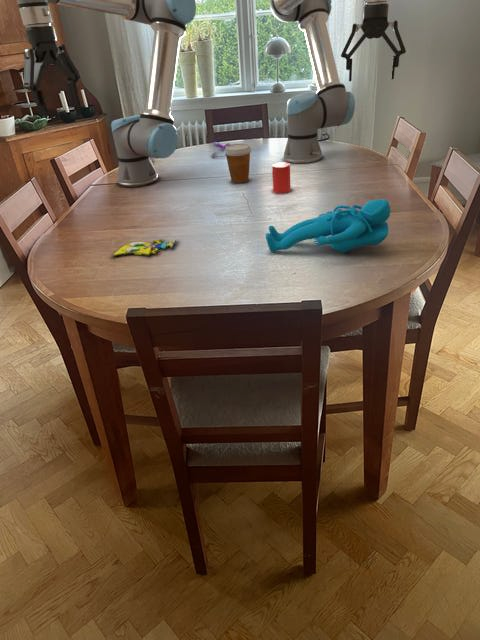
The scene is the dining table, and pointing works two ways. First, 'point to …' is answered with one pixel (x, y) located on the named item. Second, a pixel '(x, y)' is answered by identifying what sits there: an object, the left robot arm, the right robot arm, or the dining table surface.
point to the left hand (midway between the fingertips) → (61, 111)
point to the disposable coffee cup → (238, 162)
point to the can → (281, 177)
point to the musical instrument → (220, 148)
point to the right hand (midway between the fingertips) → (371, 79)
